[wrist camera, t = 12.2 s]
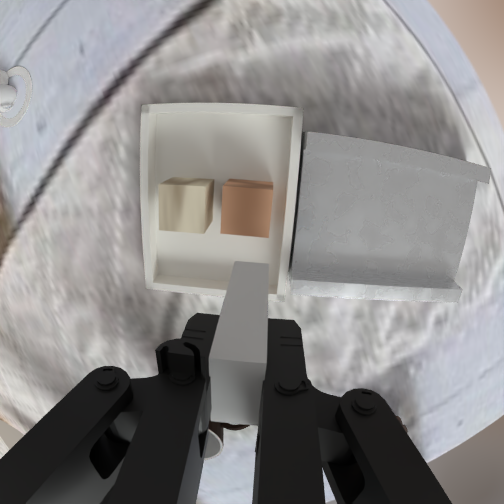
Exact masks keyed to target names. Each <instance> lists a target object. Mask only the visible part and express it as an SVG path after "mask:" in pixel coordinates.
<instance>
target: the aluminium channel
mask: <svg viewBox="0 0 504 504" xmlns="http://www.w3.org/2000/svg"><path fill="white" fill-rule="evenodd" d="M490 172H491V168H488V167H485V166H481V165H478V164H475V163H471V162H467V161H464V160H460V159H456V158H452V157H449V156H445V155H440V154H436V153H432V152H428V151H423V150H419V149H414V148H410V147H405V146H400V145H395V144H389V143H384V142H378V141H373V140H367V139H361V138H354V137H347V136H340V135H333V134H325V133H317V132H303V133H302V146H301V157H300V169H299V180H298V191H297V201H296V211H295V221H294V230H293V239H292V248H291V257H290V266H289V282H290V293H291V295H304V296H319V297H335V298H353V299H373V300H396V301H424V302H458V301H459V298H460V296H461V293H462V290H463V289H462V288H461V287H460V286H459V285H458V284H457V283H456V282H455V281H454V279H455V276H456V273H457V270H458V266H459V263H460V259H461V255H462V252H463V248H464V244H465V240H466V236H467V232H468V228H469V223H470V219H471V214H472V209H473V204H474V199H475V193H476V187H477V181H480V182H484V183H488V184H489V179H490Z"/></svg>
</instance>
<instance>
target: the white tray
mask: <svg viewBox="0 0 504 504" xmlns="http://www.w3.org/2000/svg"><path fill="white" fill-rule="evenodd" d="M302 122H303V108H298V107H287V106H275V105H260V104H240V103H166V104H146V105H141V128H140V202H141V226H142V244H143V258H144V271H145V282H146V289H152V290H161V291H169V292H178V293H188V294H197V295H207V296H217V297H225V295H226V291H227V287H228V284H229V280H230V276H231V273H232V269H233V266H234V262H235V261H242V262H254V263H267V264H269V286H268V301H275V302H284V301H285V293H286V285H287V276H288V268H289V259H290V250H291V241H292V232H293V223H294V213H295V203H296V193H297V182H298V171H299V159H300V148H301V135H302ZM172 177H182V178H202V179H214V200H213V221H212V223H211V224H210V226H209V227H208V229H207V230H206V232H205V233H204V234H199V233H187V232H174V231H162V230H159V184H160V183H162V182H164V181H166V180H168V179H170V178H172ZM229 179H242V180H254V181H265V182H273V200H272V210H271V220H270V230H269V238H263V237H252V236H241V235H230V234H220V229H221V209H222V190H223V185H224V184H225V183H226V182H227V181H228V180H229Z"/></svg>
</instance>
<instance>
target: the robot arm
mask: <svg viewBox="0 0 504 504" xmlns="http://www.w3.org/2000/svg"><path fill="white" fill-rule="evenodd" d="M268 286H269V264H267V263H254V262H242V261H235V262H234V266H233V269H232V273H231V276H230V280H229V284H228V287H227V291H226V295H225V299H224V302H223V306H222V310H221V313H220V315H213V314H203V313H196V314H195V315H194V316H193V317H191V318H190V319H189V320H188V322H187V325H186V327H185V330H184V332H183V334H182V338H181V339H173V340H169V341H166V342H164V343H162V344H161V345H159V347H158V348H157V349H156V350H155V351H156V358H157V365H158V371H159V374H158V375H156V376H153V377H148V378H135V379H130V377H129V376H128V374H127V372H126V371H124V370H123V369H121V368H118V367H114V366H103V367H100V368H97V369H95V370H93V371H92V372H90V373H89V374H88V375H87V376H86V377H85V378H84V379H83V380H82V381H81V382H80V383H78V384H77V385H76V386H75V387H74V388H73V389H72V390H71V391H70V392H69V393H68V394H67V395H66V396H65V397H64V398H63V399H62V400H61V401H60V402H58V403H57V404H56V405H55V406H54V407H53V408H52V409H51V410H50V411H49V412H48V413H47V414H46V415H45V416H44V417H43V418H42V419H41V420H40V421H39V422H38V423H37V424H36V425H35V426H34V427H33V428H32V429H31V430H29V431H28V432H27V433H26V434H25V435H24V437H22V438H21V439H20V440H19V441H18V442H17V443H16V444H15V445H14V446H13V447H12V448H11V449H10V450H9V451H8V452H7V453H6V454H5V455H4V456H3V457H2V458H1V459H0V504H196V499H197V494H198V489H199V484H200V478H201V473H202V468H203V463H204V457H205V452H206V447H207V442H208V436H209V430H208V424H209V420H210V415H211V421H215V422H224V423H233V424H244V425H257V426H258V433H257V441H256V448H255V452H256V457H255V472H254V486H253V500H252V504H325V493H324V482H323V471H322V468H323V470H324V473H325V475H326V477H327V480H328V482H329V485H330V487H331V490H332V492H333V494H334V497H335V499H336V501H337V504H452V503H451V501H450V500H449V498H448V496H447V495H446V493H445V492H444V490H443V488H442V487H441V485H440V484H439V482H438V480H437V479H436V478H435V476H434V474H433V473H432V471H431V470H430V468H429V466H428V465H427V463H426V462H425V460H424V459H423V457H422V456H421V454H420V452H419V451H418V449H417V448H416V446H415V445H414V443H413V442H412V440H411V439H410V437H409V436H408V434H407V433H406V431H405V430H404V428H403V427H402V425H401V423H400V422H399V420H398V419H397V417H396V416H395V414H394V413H393V411H392V410H391V408H390V407H389V405H388V404H387V402H386V401H385V400H384V399H383V398H382V397H381V396H380V395H379V394H378V393H376V392H374V391H372V390H368V389H363V388H361V389H353V390H350V391H348V392H346V393H345V394H344V395H343V396H342V397H337V396H333V395H329V394H326V393H323V392H321V391H319V390H317V389H316V388H315V387H314V386H312V384H311V381H310V380H309V379H308V378H307V374H306V366H305V358H304V350H303V342H302V334H301V328H300V327H299V326H298V324H297V323H296V322H295V321H294V320H285V319H270V318H268Z"/></svg>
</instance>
